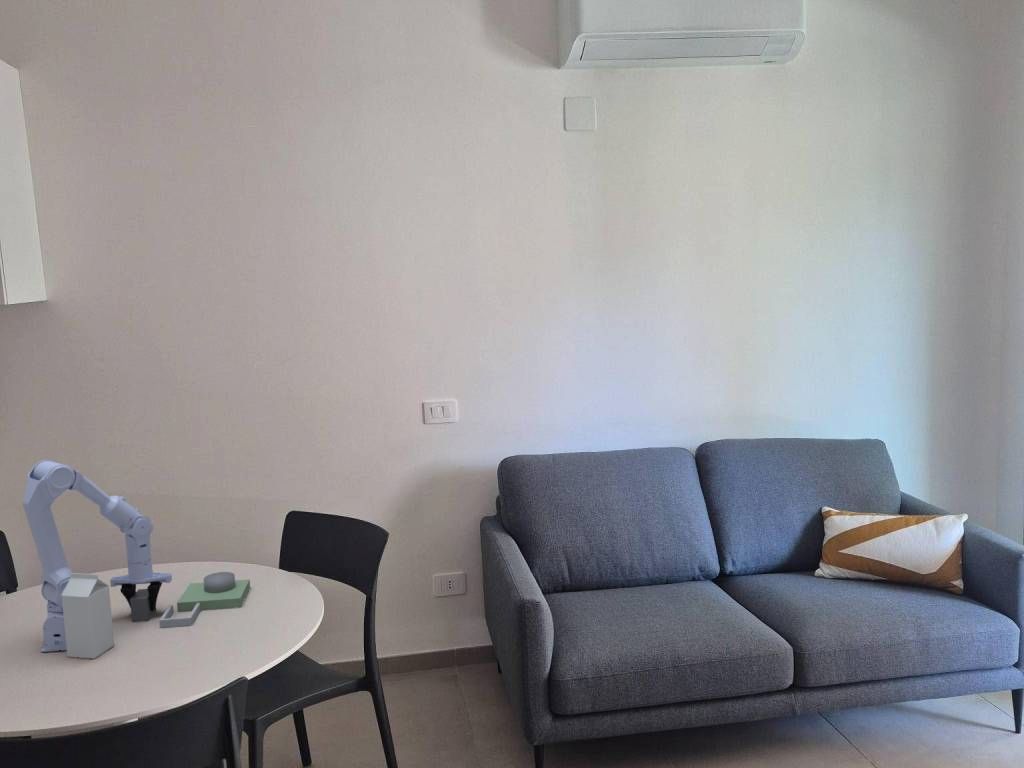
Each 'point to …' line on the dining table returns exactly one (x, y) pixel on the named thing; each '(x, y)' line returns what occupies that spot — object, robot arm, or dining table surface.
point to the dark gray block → (141, 606)
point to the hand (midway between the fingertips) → (143, 610)
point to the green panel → (207, 598)
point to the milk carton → (87, 616)
